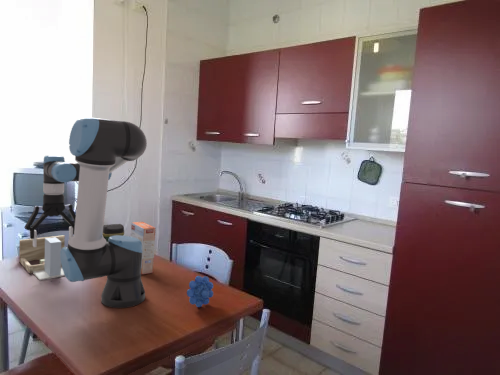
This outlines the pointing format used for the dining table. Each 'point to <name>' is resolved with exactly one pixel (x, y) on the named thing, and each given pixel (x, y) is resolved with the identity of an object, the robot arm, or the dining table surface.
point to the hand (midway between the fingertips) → (53, 244)
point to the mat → (46, 275)
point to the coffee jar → (112, 230)
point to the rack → (35, 252)
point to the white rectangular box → (52, 256)
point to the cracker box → (145, 244)
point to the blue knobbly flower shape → (200, 291)
